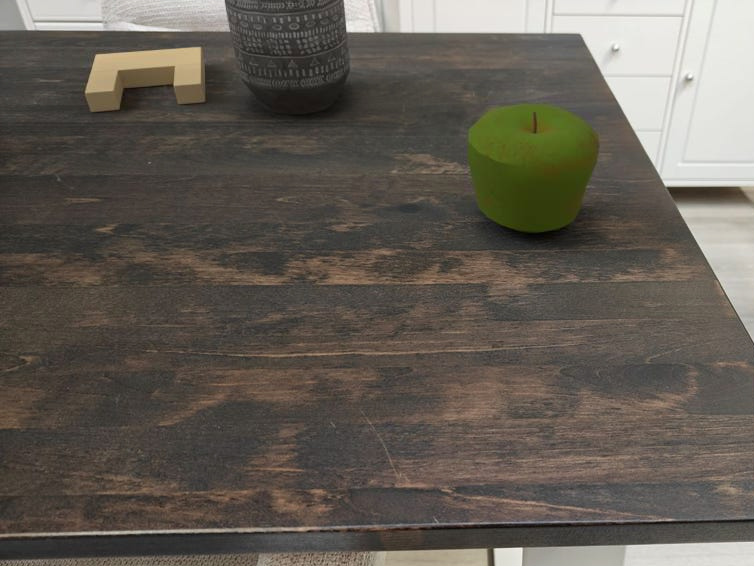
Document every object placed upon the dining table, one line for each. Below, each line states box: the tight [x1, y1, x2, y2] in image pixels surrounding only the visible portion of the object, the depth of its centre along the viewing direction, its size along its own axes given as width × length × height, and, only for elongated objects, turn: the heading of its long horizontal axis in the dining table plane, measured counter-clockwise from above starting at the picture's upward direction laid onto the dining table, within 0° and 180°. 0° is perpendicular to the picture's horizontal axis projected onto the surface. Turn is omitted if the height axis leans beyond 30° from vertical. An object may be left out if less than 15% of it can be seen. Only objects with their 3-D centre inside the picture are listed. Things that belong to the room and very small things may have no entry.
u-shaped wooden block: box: [84, 46, 206, 113], centre depth 100 cm, size 14×14×2 cm
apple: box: [467, 103, 601, 234], centre depth 73 cm, size 12×12×11 cm
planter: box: [224, 0, 351, 116], centre depth 94 cm, size 14×14×15 cm
